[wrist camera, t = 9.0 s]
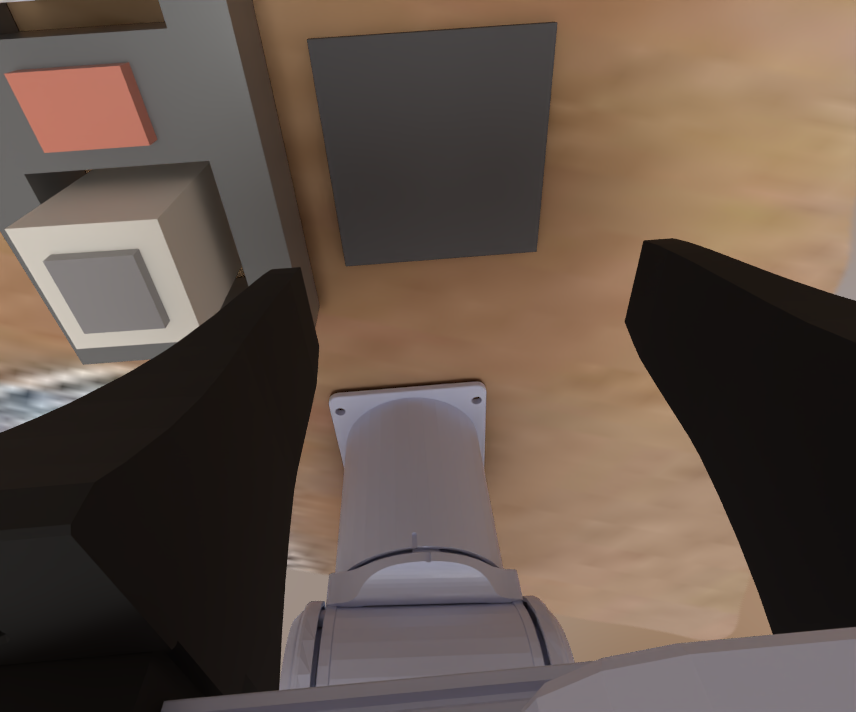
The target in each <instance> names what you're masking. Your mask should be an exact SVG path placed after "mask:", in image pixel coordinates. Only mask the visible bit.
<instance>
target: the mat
mask: <svg viewBox="0 0 856 712" xmlns="http://www.w3.org/2000/svg"><path fill="white" fill-rule="evenodd" d="M556 33H557V22H546V23H531V24H517V25H502V26H488V27H473V28H458V29H444V30H429V31H415V32H400V33H385V34H371V35H356V36H342V37H327V38H313V39H307V43H308V49H309V54H310V60H311V66H312V72H313V78H314V84H315V89H316V95H317V101H318V107H319V113H320V119H321V124H322V130H323V136H324V142H325V148H326V153H327V159H328V165H329V171H330V177H331V183H332V188H333V194H334V200H335V206H336V212H337V218H338V223H339V229H340V235H341V241H342V247H343V252H344V258H345V264H346V266H356V265H369V264H382V263H395V262H408V261H421V260H434V259H447V258H460V257H473V256H486V255H499V254H512V253H525V252H537V242H538V231H539V220H540V209H541V198H542V187H543V176H544V165H545V154H546V143H547V132H548V121H549V110H550V99H551V88H552V77H553V66H554V55H555V44H556Z"/></svg>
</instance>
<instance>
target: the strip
mask: <svg viewBox="0 0 856 712" xmlns="http://www.w3.org/2000/svg"><path fill="white" fill-rule="evenodd" d="M18 1H33V0H0V232H1V233H2V235H3V236H4V238H5V240H6V241H7V243H8V245H9V246H10V248H11V249H12V251H13V253H14V254H15V256H16V257H17V259H18V261H19V262H20V264H21V265H22V267H23V269H24V270H25V272H26V274H27V275H28V277H29V278H30V280H31V282H32V283H33V285H34V286H35V288H36V290H37V291H38V293H39V294H40V296H41V298H42V299H43V301H44V303H45V304H46V306H47V307H48V309H49V311H50V312H51V314H52V315H53V317H54V319H55V320H56V322H57V323H58V325H59V327H60V328H61V330H62V332H63V333H64V335H65V336H66V338H67V340H68V341H69V343H70V344H71V346H72V348H73V349H74V351H75V352H76V354H77V356H78V357H79V359H80V360H81V362H82V364H83V365H84V364H97V363H109V362H122V361H134V360H147V359H152V358H154V357H156V356H157V355H159V354H160V353H162V352H164V351H165V350H167V349H168V348H170V347H171V346H173V345H174V344H176V343H177V342H170V343H156V344H142V345H128V346H114V347H100V348H86V349H76V347H75V346H74V344H73V342H72V341H71V339H70V337H69V336H68V334H67V332H66V331H65V329H64V327H63V326H62V324H61V322H60V321H59V319H58V317H57V316H56V314H55V312H54V311H53V309H52V307H51V306H50V304H49V302H48V301H47V299H46V297H45V296H44V294H43V292H42V291H41V289H40V287H39V286H38V284H37V282H36V281H35V279H34V277H33V276H32V274H31V272H30V271H29V269H28V267H27V266H26V264H25V262H24V261H23V259H22V257H21V256H20V254H19V252H18V251H17V249H16V247H15V246H14V244H13V242H12V241H11V239H10V237H9V236H8V234H7V232H6V231H5V228H7V227H8V226H10V225H11V224H13V223H14V222H16V221H17V220H19V219H20V218H22V217H23V216H25V215H26V214H28V213H29V212H31V211H32V210H33V209H35V208H36V207H38V206H39V205H41V204H42V203H44V202H45V201H47V200H48V199H50V198H51V197H53V196H54V195H56V194H57V193H59V192H60V191H62V190H63V189H65V188H66V187H68V186H69V185H71V184H72V183H73V182H75V181H76V180H78V179H79V178H81V177H82V176H84V175H85V174H86V173H85V170H89V169H103V168H117V167H131V166H144V165H158V164H172V163H185V162H199V161H209V162H210V165H211V169H212V172H213V175H214V178H215V181H216V185H217V188H218V191H219V194H220V197H221V200H222V204H223V207H224V210H225V213H226V216H227V219H228V223H229V226H230V229H231V232H232V235H233V238H234V242H235V245H236V248H237V251H238V254H239V257H240V261H241V264H242V267H243V270H244V273H245V276H246V277H242V278H235V280H234V282H233V284H232V286H231V288H230V290H229V292H228V294H227V296H226V298H225V300H224V302H223V304H222V306H221V308H220V310H221V309H222V308H223V307H224V306H226V305H227V304H228V303H229V302H231V301H232V300H233V299H234V298H235V297H237V296H238V295H239V294H240V293H241V292H243V291H244V290H245V289H246V288H247V287H249V286H250V285H251V284H252V283H253V282H255V281H256V280H257V279H258V278H260V277H261V276H262V275H263V274H265V273H266V272H268V271H269V270H271V269H281V268H294V267H301V271H302V275H303V279H304V284H305V288H306V292H307V296H308V301H309V305H310V309H311V313H312V318H313V322H314V326H316V321H317V316H318V311H319V301H318V297H317V292H316V288H315V283H314V278H313V274H312V269H311V265H310V260H309V256H308V251H307V247H306V242H305V238H304V233H303V229H302V224H301V219H300V215H299V210H298V206H297V201H296V197H295V192H294V188H293V183H292V179H291V174H290V170H289V165H288V160H287V156H286V151H285V147H284V142H283V138H282V133H281V129H280V124H279V120H278V115H277V111H276V106H275V101H274V97H273V92H272V88H271V83H270V79H269V74H268V70H267V65H266V61H265V56H264V52H263V47H262V42H261V38H260V33H259V29H258V24H257V20H256V15H255V11H254V6H253V2H252V0H158V1H159V4H160V7H161V10H162V13H163V16H164V20H165V22H154V23H139V24H125V25H110V26H95V27H80V28H65V29H50V30H36V31H21V32H19V30H18V28H17V26H16V24H15V22H14V20H13V18H12V16H11V13H10V11H9V9H8V7H7V5H6V3H5V2H18ZM220 310H219V311H220Z"/></svg>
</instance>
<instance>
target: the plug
mask: <svg viewBox="0 0 856 712" xmlns="http://www.w3.org/2000/svg"><path fill="white" fill-rule="evenodd" d="M5 231H6V232H7V234H8V236H9V237H10V239H11V241H12V242H13V244H14V246H15V247H16V249H17V251H18V252H19V254H20V256H21V257H22V259H23V261H24V262H25V264H26V266H27V267H28V269H29V271H30V272H31V274H32V276H33V277H34V279H35V281H36V282H37V284H38V286H39V287H40V289H41V291H42V292H43V294H44V296H45V297H46V299H47V301H48V302H49V304H50V306H51V307H52V309H53V311H54V312H55V314H56V316H57V317H58V319H59V321H60V322H61V324H62V326H63V327H64V329H65V331H66V332H67V334H68V336H69V337H70V339H71V341H72V342H73V344H74V346H75V347H76V349H86V348H100V347H114V346H128V345H142V344H156V343H170V342H178V341H180V340H181V339H183V338H184V337H185V336H187V335H188V334H189V333H191V332H192V331H193V330H195V329H196V328H197V327H199V326H200V325H201V324H203V323H204V322H205V321H207V320H208V319H209V318H211V317H212V316H213V315H215V314H216V313H217V312H218V311H219V310H220V308H221V306H222V304H223V302H224V300H225V298H226V296H227V294H228V292H229V290H230V288H231V286H232V284H233V282H234V280H235V278H236V276H237V274H238V272H239V270H240V268H241V266H242V264H241V261H240V257H239V254H238V251H237V248H236V245H235V242H234V238H233V235H232V232H231V229H230V226H229V223H228V219H227V216H226V213H225V210H224V207H223V204H222V200H221V197H220V194H219V191H218V188H217V185H216V181H215V178H214V175H213V172H212V169H211V165H210V162H209V161H199V162H185V163H172V164H158V165H144V166H131V167H117V168H103V169H93V170H91V171H90V172H88V173H87V174H85V175H84V176H82V177H81V178H79V179H78V180H76V181H75V182H73V183H72V184H71V185H69V186H68V187H66V188H65V189H63V190H62V191H60V192H59V193H57V194H56V195H54V196H53V197H51V198H50V199H48V200H47V201H45V202H44V203H42V204H41V205H39V206H38V207H36V208H35V209H33V210H32V211H31V212H29V213H28V214H26V215H25V216H23V217H22V218H20V219H19V220H17V221H16V222H14V223H13V224H11V225H10V226H8V227H7V228H5Z"/></svg>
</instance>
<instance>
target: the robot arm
mask: <svg viewBox="0 0 856 712" xmlns="http://www.w3.org/2000/svg"><path fill="white" fill-rule="evenodd" d="M625 324H626V326H627V329H628V331H629V334H630V336H631V339H632V341H633V344H634V346H635V348H636V351H637V353H638V355H639V357H640V359H641V361H642V363H643V364H644V366H645V368H646V369H647V371H648V372H649V374H650V376H651V377H652V379H653V381H654V382H655V384H656V385H657V387H658V389H659V390H660V392H661V393H662V395H663V396H664V398H665V400H666V401H667V403H668V404H669V406H670V408H671V409H672V411H673V412H674V414H675V415H676V417H677V419H678V420H679V422H680V423H681V425H682V426H683V428H684V430H685V431H686V433H687V434H688V436H689V438H690V439H691V441H692V443H693V445H694V446H695V448H696V450H697V452H698V454H699V455H700V457H701V459H702V462H703V464H704V466H705V468H706V470H707V472H708V474H709V476H710V478H711V480H712V483H713V485H714V487H715V489H716V491H717V493H718V495H719V497H720V500H721V502H722V504H723V507H724V509H725V511H726V514H727V516H728V518H729V520H730V523H731V525H732V527H733V530H734V532H735V534H736V537H737V539H738V541H739V544H740V547H741V549H742V552H743V554H744V557H745V559H746V562H747V564H748V567H749V570H750V572H751V575H752V577H753V580H754V582H755V585H756V587H757V590H758V592H759V595H760V598H761V601H762V604H763V606H764V610H765V613H766V616H767V619H768V622H769V624H770V627H771V630H772V633H773V635H764V636H753V637H743V638H731V639H720V640H709V641H699V642H688V643H678V644H672V645H667V646H662V647H657V648H651V649H646V650H642V651H636V652H631V653H626V654H621V655H616V656H610V657H605V658H601V659H599V660H596V661H588V662H578V663H575V662H574V658H573V655H572V652H571V649H570V646H569V643H568V640H567V638H566V635H565V633H564V631H563V629H562V627H561V625H560V623H559V622H558V620H557V619H556V617H555V616H554V615H553V614H552V613H551V612H550V611H549V610H548V608H547V607H546V605H545V604H544V603H543V602H542V601H541V600H540V599H539V598H537V597H535V596H522V593H521V588H520V583H519V579H518V574H517V571H516V570H515V569H503V565H502V560H501V554H500V549H499V544H498V539H497V534H496V529H495V523H494V518H493V513H492V508H491V503H490V497H489V492H488V487H487V482H486V477H485V472H484V460H485V424H486V388H485V385H484V384H483V383H481V382H476V381H475V382H463V383H451V384H439V385H427V386H414V387H402V388H390V389H378V390H366V391H353V392H341V393H335V394H333V395H331V396H330V398H329V408H330V412H331V416H332V420H333V424H334V428H335V432H336V437H337V441H338V445H339V449H340V453H341V457H342V461H343V466H344V478H343V489H342V501H341V513H340V524H339V536H338V547H337V559H336V570H335V573H331V574H329V582H328V592H327V602H326V607H325V602H324V601H311V602H309V603H308V604H307V606H306V607H305V610H304V611H303V612H302V613H301V614H300V615H299V616H298V617H297V618H296V619H295V620H294V621H293V623H292V626H291V628H290V632H289V636H288V640H287V644H286V648H285V654H284V659H283V665H282V671H281V678H280V660H281V640H282V623H283V609H284V594H285V579H286V568H287V557H288V545H289V534H290V524H291V515H292V505H293V496H294V488H295V482H296V476H297V470H298V466H299V461H300V457H301V452H302V448H303V444H304V439H305V435H306V430H307V426H308V421H309V417H310V412H311V408H312V403H313V398H314V394H315V389H316V384H317V372H318V357H319V343H318V339H317V335H316V330H315V326H314V322H313V318H312V313H311V309H310V305H309V301H308V296H307V292H306V288H305V284H304V279H303V275H302V271H301V267H294V268H281V269H271V270H269V271H268V272H266V273H265V274H263V275H262V276H261V277H260V278H258V279H257V280H256V281H255V282H253V283H252V284H251V285H250V286H249V287H247V288H246V289H245V290H244V291H243V292H241V293H240V294H239V295H238V296H237V297H235V298H234V299H233V300H232V301H231V302H229V303H228V304H227V305H226V306H224V307H223V308H222V309H221V310H220V311H218V312H217V313H216V314H215V315H213V316H212V317H211V318H209V319H208V320H207V321H205V322H204V323H203V324H201V325H200V326H199V327H197V328H196V329H195V330H193V331H192V332H191V333H189V334H188V335H187V336H185V337H184V338H183V339H181V340H180V341H178V342H177V343H176V344H174V345H173V346H171V347H170V348H168V349H167V350H165V351H164V352H162V353H160V354H159V355H157V356H156V357H154V358H152V359H151V360H149V361H147V362H146V363H144V364H142V365H141V366H139V367H138V368H136V369H134V370H133V371H131V372H129V373H127V374H125V375H124V376H122V377H120V378H118V379H116V380H114V381H112V382H110V383H108V384H106V385H104V386H102V387H100V388H98V389H96V390H94V391H93V392H91V393H89V394H87V395H85V396H83V397H81V398H79V399H77V400H75V401H73V402H71V403H69V404H67V405H64V406H62V407H60V408H58V409H56V410H53V411H51V412H49V413H47V414H44V415H42V416H40V417H38V418H35V419H33V420H31V421H28V422H26V423H23V424H21V425H18V426H16V427H14V428H11V429H9V430H6V431H4V432H1V433H0V712H856V301H855V300H851V299H848V298H844V297H841V296H838V295H834V294H831V293H828V292H825V291H822V290H819V289H816V288H813V287H810V286H807V285H804V284H801V283H798V282H795V281H793V280H790V279H787V278H784V277H781V276H779V275H776V274H773V273H771V272H768V271H765V270H762V269H760V268H757V267H755V266H752V265H749V264H747V263H744V262H742V261H739V260H736V259H734V258H731V257H729V256H726V255H723V254H721V253H718V252H715V251H713V250H710V249H707V248H704V247H701V246H699V245H696V244H693V243H689V242H686V241H682V240H678V239H673V238H671V239H658V240H645V241H643V245H642V250H641V254H640V258H639V263H638V267H637V271H636V275H635V280H634V284H633V288H632V293H631V297H630V301H629V306H628V310H627V314H626V318H625ZM474 397H479V398H478V399H473V398H474ZM338 408H342V409H344V410H338ZM279 683H280V685H279Z"/></svg>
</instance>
